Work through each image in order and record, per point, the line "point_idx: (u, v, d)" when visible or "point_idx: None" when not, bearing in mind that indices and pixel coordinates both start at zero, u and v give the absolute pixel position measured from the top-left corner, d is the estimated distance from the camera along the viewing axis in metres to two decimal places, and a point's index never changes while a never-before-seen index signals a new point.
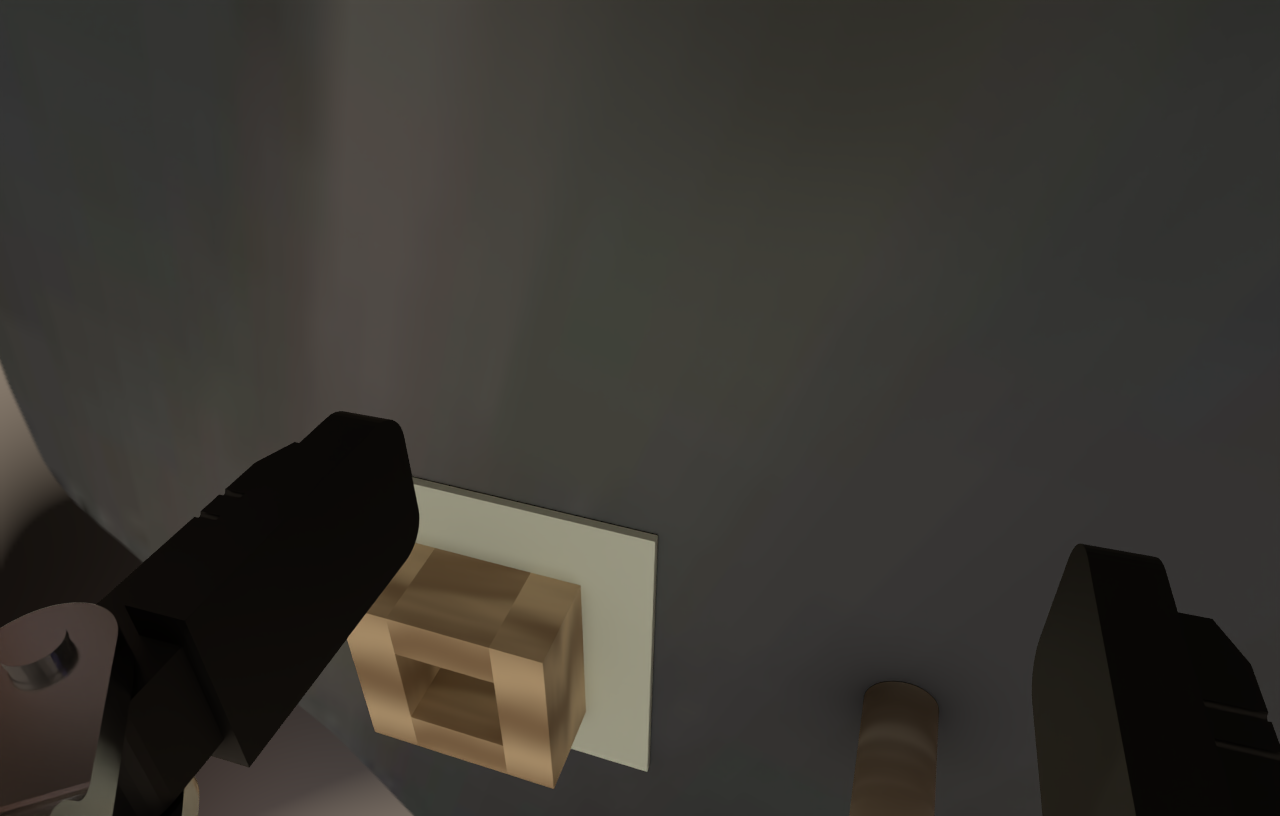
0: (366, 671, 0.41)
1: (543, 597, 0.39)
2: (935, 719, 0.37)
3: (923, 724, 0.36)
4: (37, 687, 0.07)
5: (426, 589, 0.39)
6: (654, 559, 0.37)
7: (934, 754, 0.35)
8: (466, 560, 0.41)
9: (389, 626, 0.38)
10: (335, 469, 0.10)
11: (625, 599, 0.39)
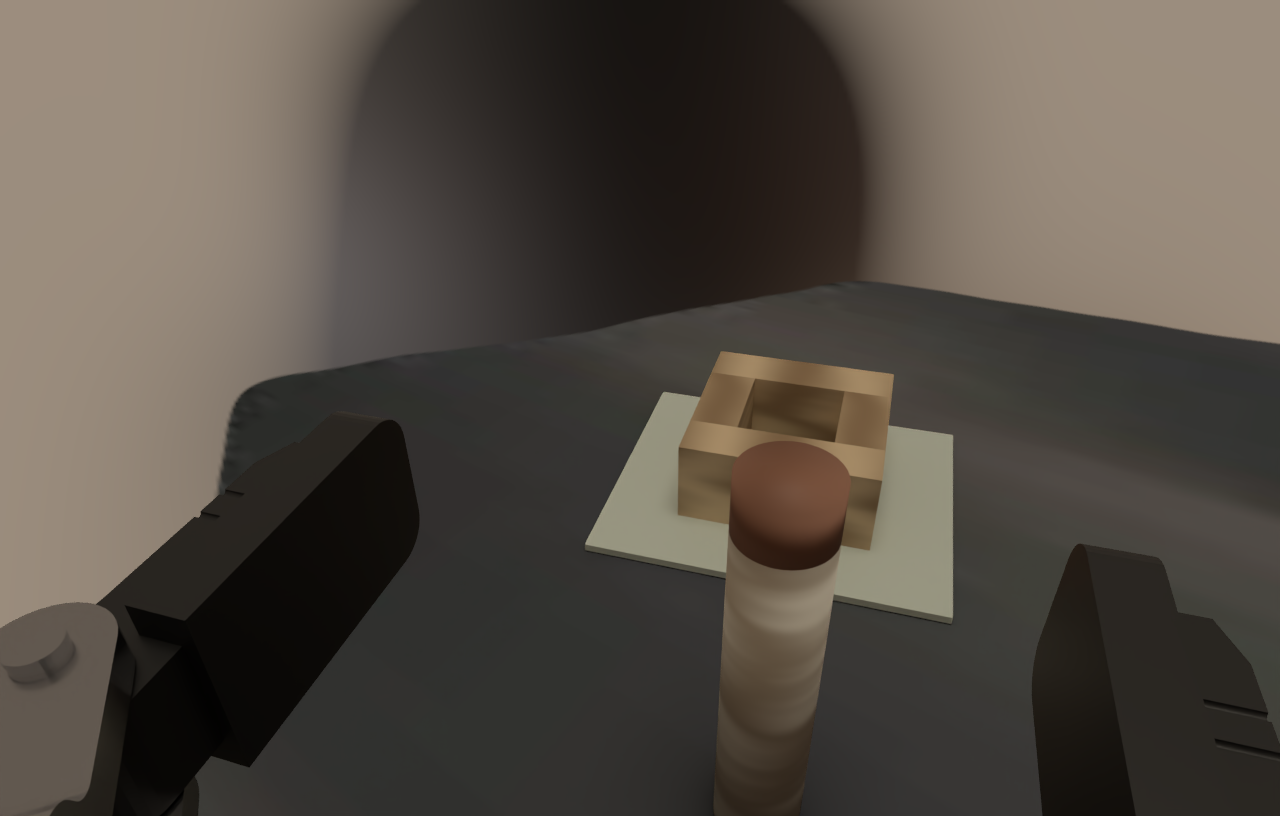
0: (810, 368, 0.49)
1: None
2: None
3: (793, 812, 0.30)
4: (37, 686, 0.07)
5: None
6: (926, 613, 0.40)
7: (776, 810, 0.29)
8: None
9: (881, 397, 0.47)
10: (335, 469, 0.10)
11: (862, 580, 0.41)
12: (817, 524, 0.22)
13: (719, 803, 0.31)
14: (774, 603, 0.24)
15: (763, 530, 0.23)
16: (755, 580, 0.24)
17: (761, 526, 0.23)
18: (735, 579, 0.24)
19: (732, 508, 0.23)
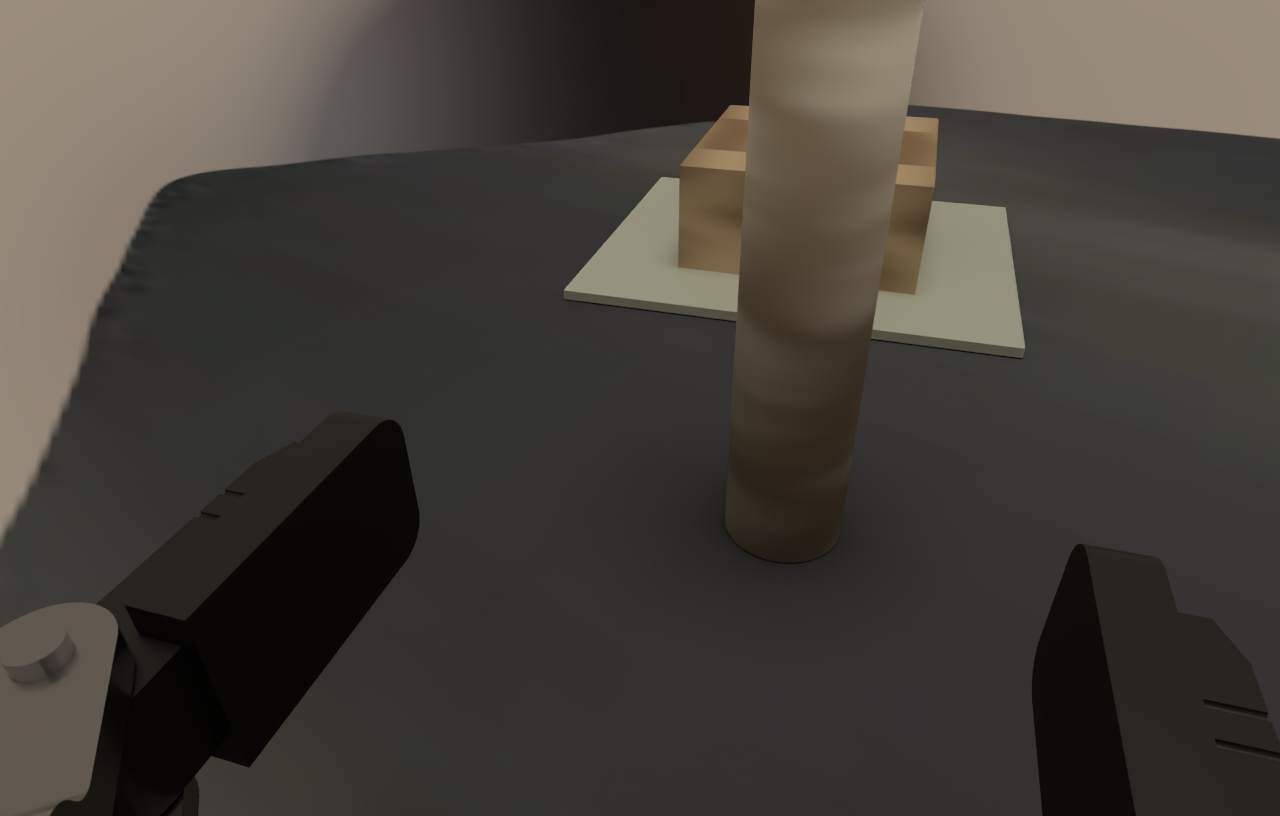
0: None
1: None
2: (809, 535, 0.22)
3: (836, 501, 0.22)
4: (37, 687, 0.07)
5: None
6: (991, 345, 0.31)
7: (813, 486, 0.21)
8: None
9: (925, 133, 0.38)
10: (335, 469, 0.10)
11: (908, 318, 0.33)
12: None
13: (734, 496, 0.23)
14: (829, 51, 0.16)
15: None
16: (799, 12, 0.15)
17: None
18: (768, 35, 0.16)
19: None
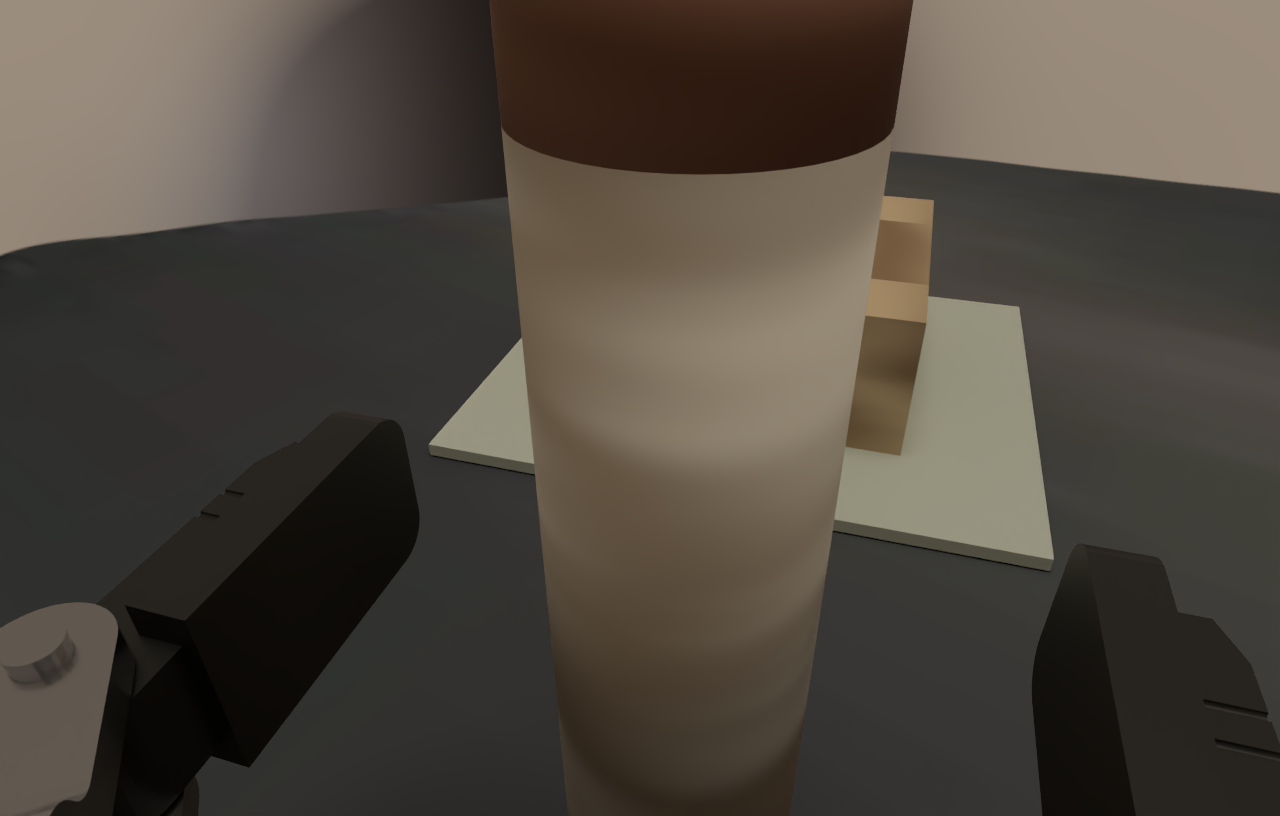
0: None
1: None
2: None
3: None
4: (37, 687, 0.07)
5: None
6: (1006, 552, 0.22)
7: None
8: None
9: (916, 224, 0.29)
10: (335, 469, 0.10)
11: (890, 499, 0.24)
12: None
13: None
14: (649, 339, 0.07)
15: None
16: (574, 251, 0.06)
17: None
18: (525, 280, 0.07)
19: None
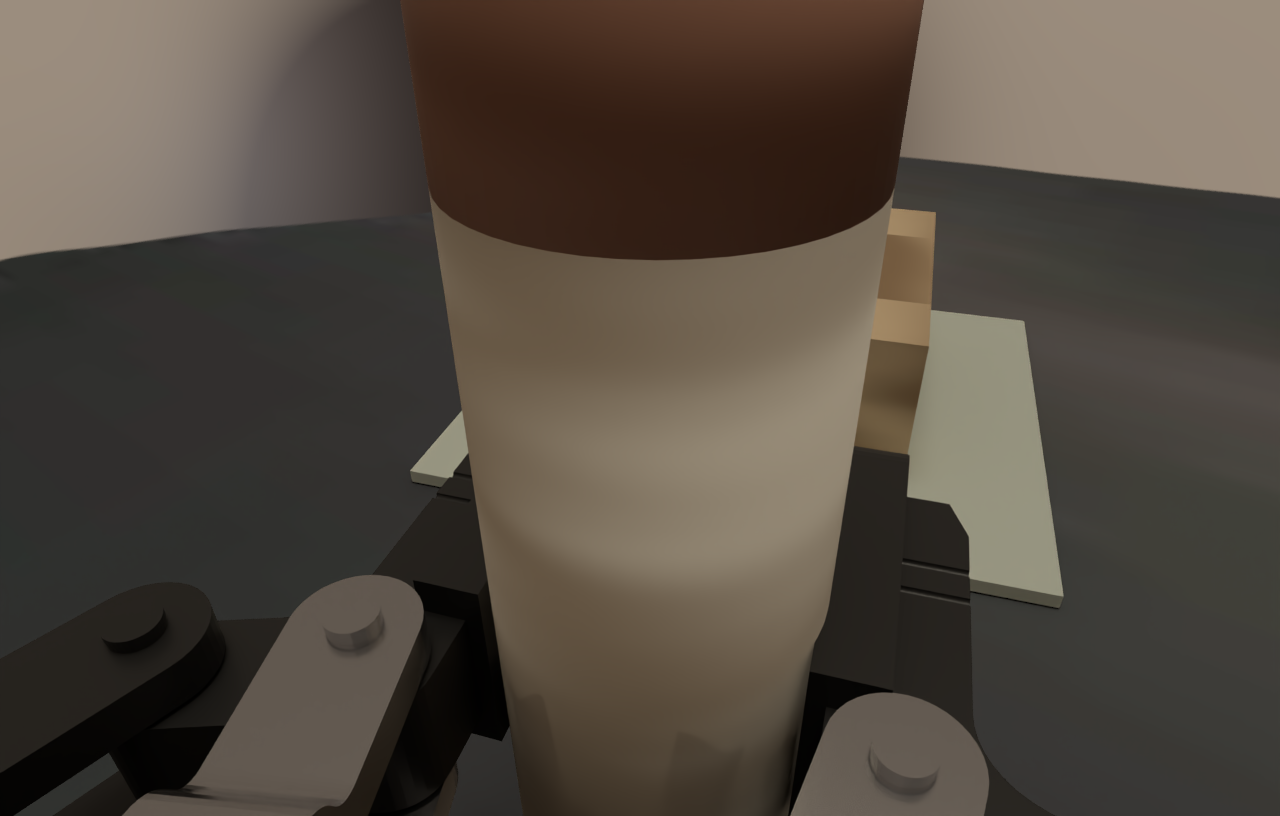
0: None
1: None
2: None
3: None
4: (365, 656, 0.07)
5: None
6: (1013, 588, 0.21)
7: None
8: None
9: (917, 238, 0.28)
10: None
11: None
12: None
13: None
14: (602, 445, 0.05)
15: (492, 13, 0.04)
16: (511, 340, 0.05)
17: None
18: (461, 365, 0.06)
19: (401, 5, 0.05)
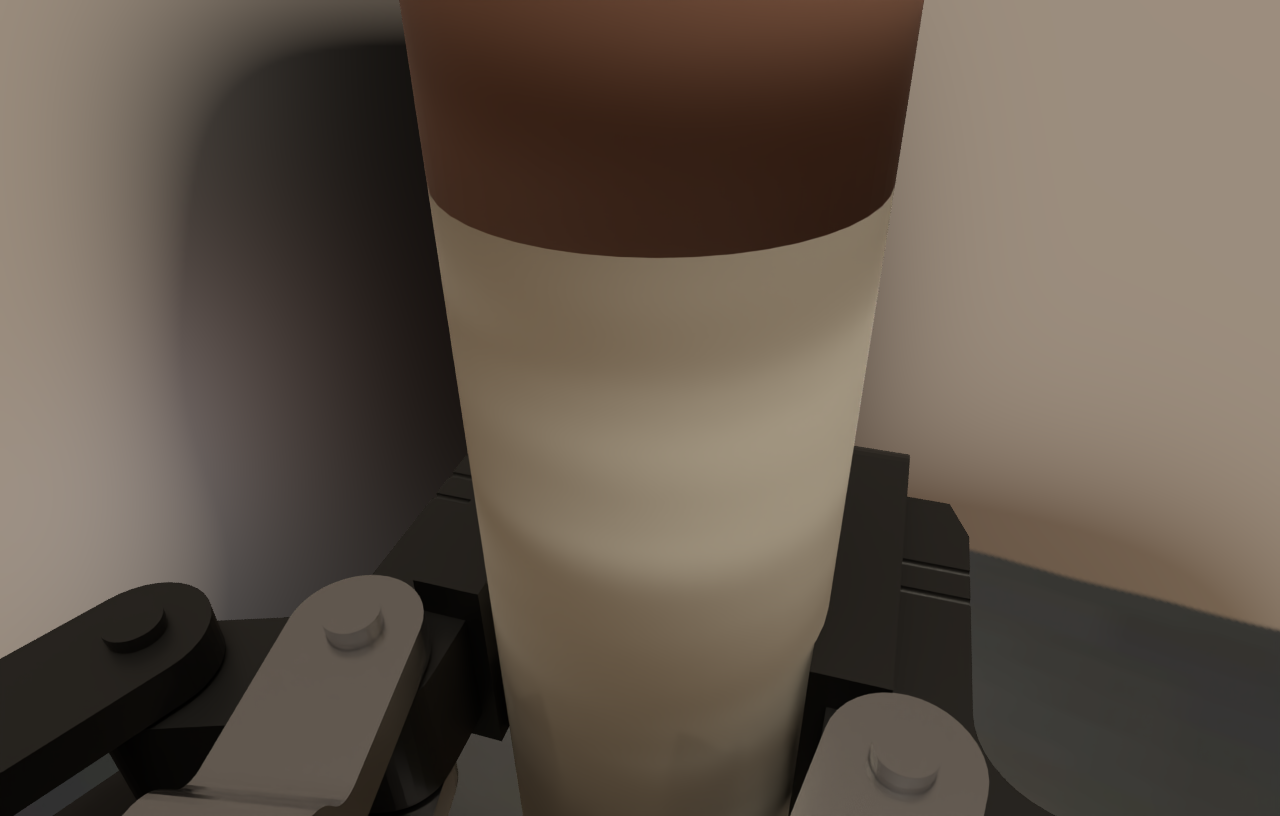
0: None
1: None
2: None
3: None
4: (365, 656, 0.07)
5: None
6: None
7: None
8: None
9: None
10: None
11: None
12: None
13: None
14: (602, 444, 0.05)
15: (491, 9, 0.04)
16: (511, 340, 0.05)
17: None
18: (461, 363, 0.06)
19: (400, 2, 0.05)
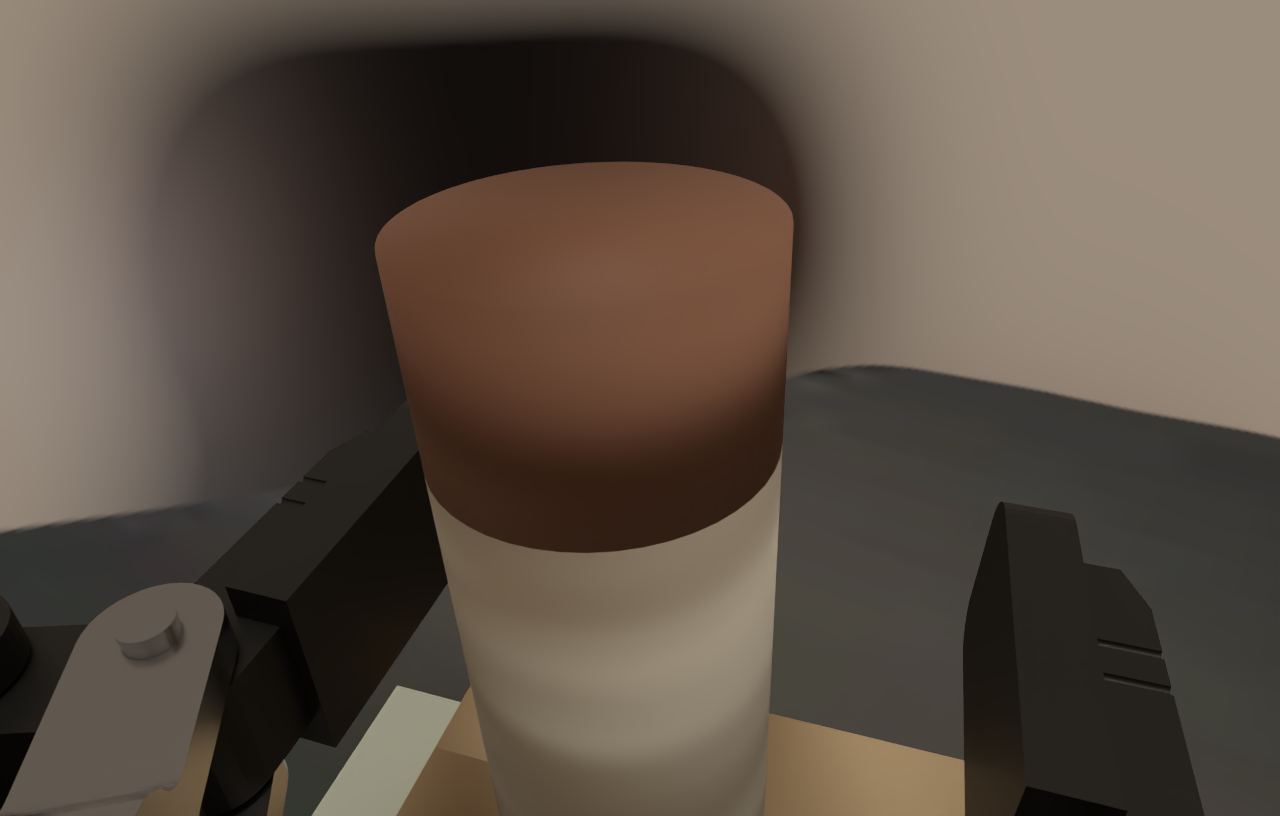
0: None
1: None
2: None
3: None
4: (153, 663, 0.07)
5: None
6: None
7: None
8: None
9: None
10: (413, 456, 0.10)
11: None
12: (656, 360, 0.06)
13: None
14: (559, 668, 0.07)
15: (460, 399, 0.06)
16: (487, 593, 0.07)
17: (452, 383, 0.06)
18: (451, 592, 0.08)
19: None
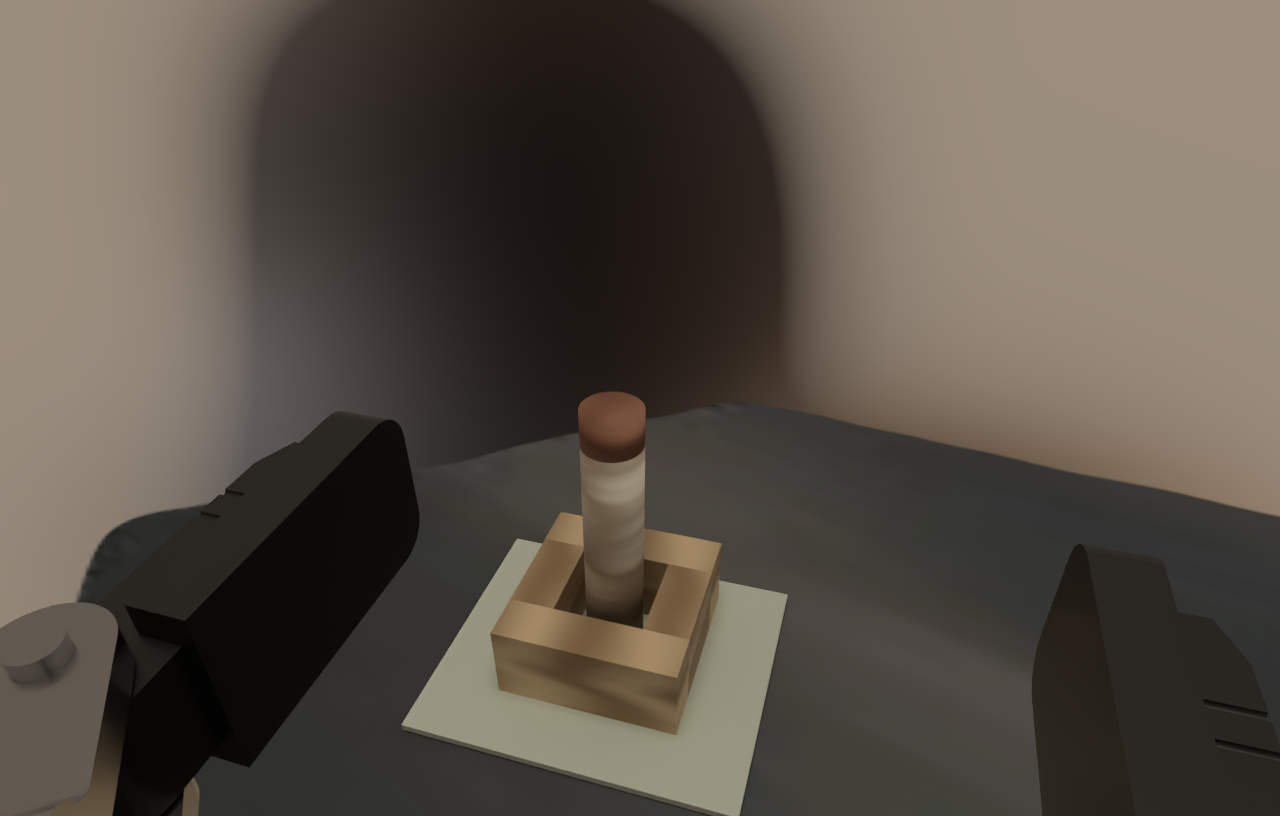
0: None
1: (682, 699, 0.45)
2: None
3: None
4: (37, 686, 0.07)
5: (707, 610, 0.48)
6: (715, 812, 0.41)
7: None
8: (702, 648, 0.49)
9: (702, 572, 0.48)
10: (335, 469, 0.10)
11: (661, 771, 0.42)
12: (622, 434, 0.40)
13: None
14: (604, 483, 0.41)
15: (593, 438, 0.40)
16: (592, 470, 0.41)
17: (592, 436, 0.40)
18: (583, 472, 0.42)
19: (579, 428, 0.41)
